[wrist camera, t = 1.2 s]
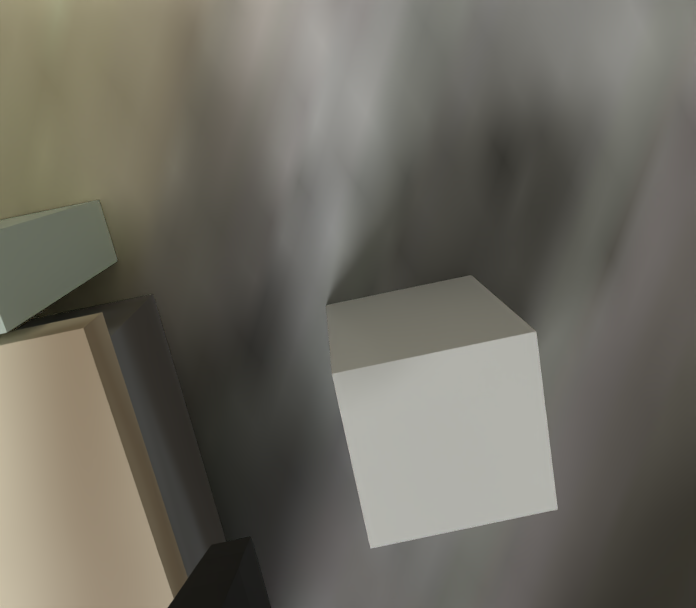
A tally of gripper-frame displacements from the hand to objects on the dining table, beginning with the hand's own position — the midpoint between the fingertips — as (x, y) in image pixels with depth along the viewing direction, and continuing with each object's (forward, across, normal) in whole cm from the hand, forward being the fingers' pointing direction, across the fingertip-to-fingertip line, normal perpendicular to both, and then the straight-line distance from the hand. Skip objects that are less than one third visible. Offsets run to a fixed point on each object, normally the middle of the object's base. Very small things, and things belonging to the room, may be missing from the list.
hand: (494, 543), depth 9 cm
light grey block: (+8, 0, 0) cm, 8 cm away
